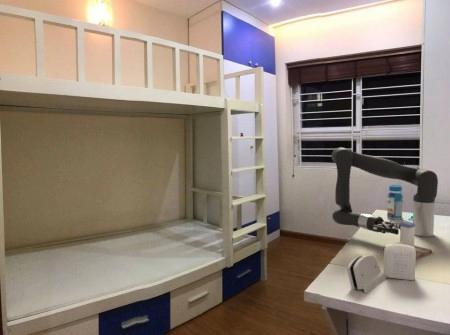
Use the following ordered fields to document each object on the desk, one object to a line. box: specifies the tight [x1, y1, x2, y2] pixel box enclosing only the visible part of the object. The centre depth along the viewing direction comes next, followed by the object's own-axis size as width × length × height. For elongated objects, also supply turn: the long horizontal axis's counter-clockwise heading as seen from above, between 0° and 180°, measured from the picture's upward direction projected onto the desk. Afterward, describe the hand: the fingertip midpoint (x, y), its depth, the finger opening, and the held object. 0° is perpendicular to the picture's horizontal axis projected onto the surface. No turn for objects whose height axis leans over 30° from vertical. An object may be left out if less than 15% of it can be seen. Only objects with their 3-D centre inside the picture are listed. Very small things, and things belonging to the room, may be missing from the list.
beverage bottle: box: [386, 184, 404, 220], centre depth 199 cm, size 8×8×20 cm
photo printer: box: [382, 243, 417, 281], centre depth 117 cm, size 10×4×12 cm, turn 72°
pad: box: [382, 241, 433, 260], centre depth 143 cm, size 14×14×1 cm
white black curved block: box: [346, 254, 387, 294], centre depth 114 cm, size 17×5×10 cm, turn 132°
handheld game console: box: [408, 213, 413, 221], centre depth 198 cm, size 10×16×1 cm, turn 143°
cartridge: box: [399, 221, 416, 247], centre depth 143 cm, size 4×4×12 cm
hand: (403, 230), depth 144 cm, fingers open, 8 cm apart
